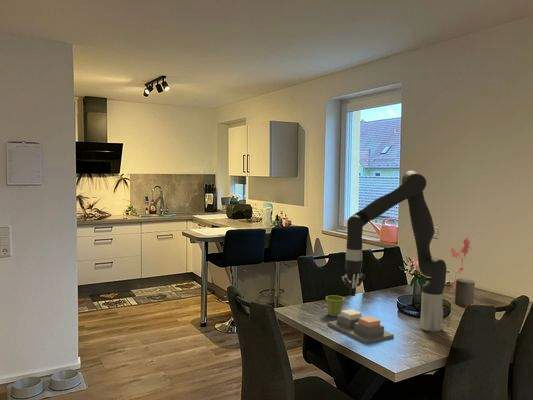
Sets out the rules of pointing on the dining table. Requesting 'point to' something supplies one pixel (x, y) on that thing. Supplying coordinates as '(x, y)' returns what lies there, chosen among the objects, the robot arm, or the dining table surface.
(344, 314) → the cream key
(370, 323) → the terracotta key
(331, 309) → the plant pot
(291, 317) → the dining table surface
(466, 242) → the pink flower sprig
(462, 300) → the pillar candle
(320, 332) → the dining table surface
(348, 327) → the key panel
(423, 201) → the robot arm
